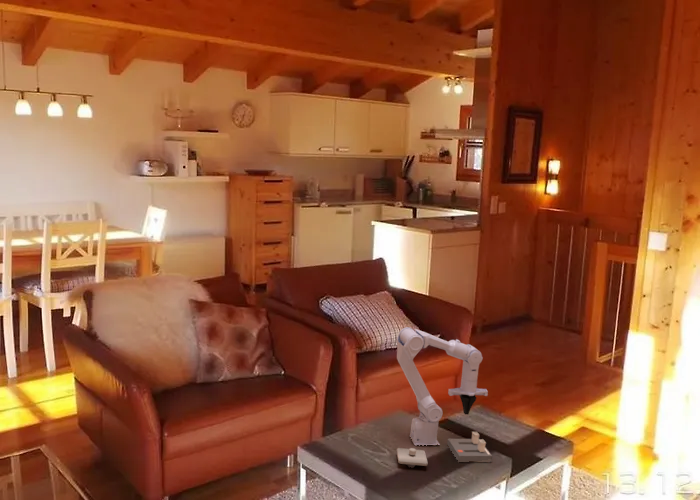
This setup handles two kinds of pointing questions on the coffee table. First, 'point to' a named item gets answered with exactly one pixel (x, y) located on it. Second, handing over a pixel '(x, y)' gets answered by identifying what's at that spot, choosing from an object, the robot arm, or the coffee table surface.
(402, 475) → the coffee table surface
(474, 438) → the breaker
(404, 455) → the light switch
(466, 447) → the grey flat block
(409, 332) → the robot arm
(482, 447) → the breaker
